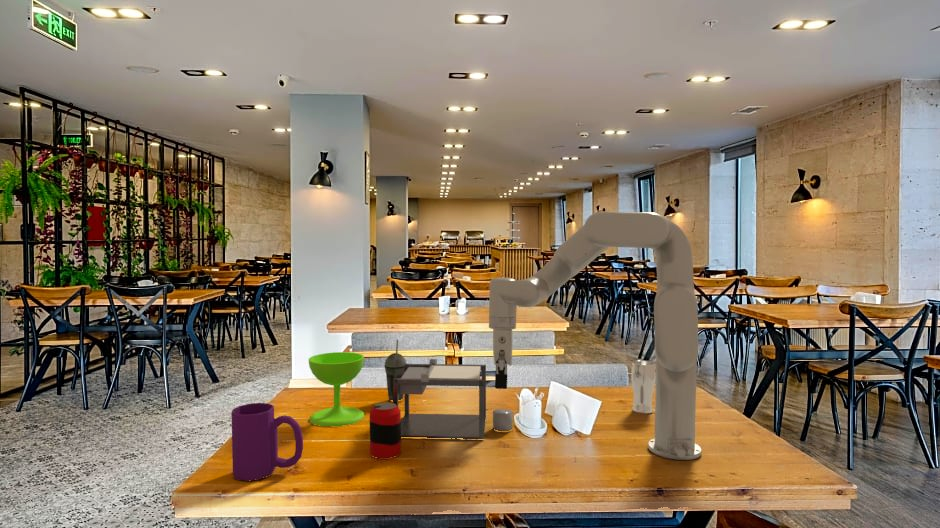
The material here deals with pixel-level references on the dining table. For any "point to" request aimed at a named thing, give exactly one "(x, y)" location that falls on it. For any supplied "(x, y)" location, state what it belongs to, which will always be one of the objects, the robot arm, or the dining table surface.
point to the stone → (502, 419)
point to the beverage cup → (394, 371)
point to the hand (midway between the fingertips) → (501, 383)
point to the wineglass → (336, 385)
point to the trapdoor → (437, 375)
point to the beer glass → (643, 385)
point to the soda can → (385, 430)
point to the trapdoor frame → (442, 423)
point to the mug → (259, 441)
